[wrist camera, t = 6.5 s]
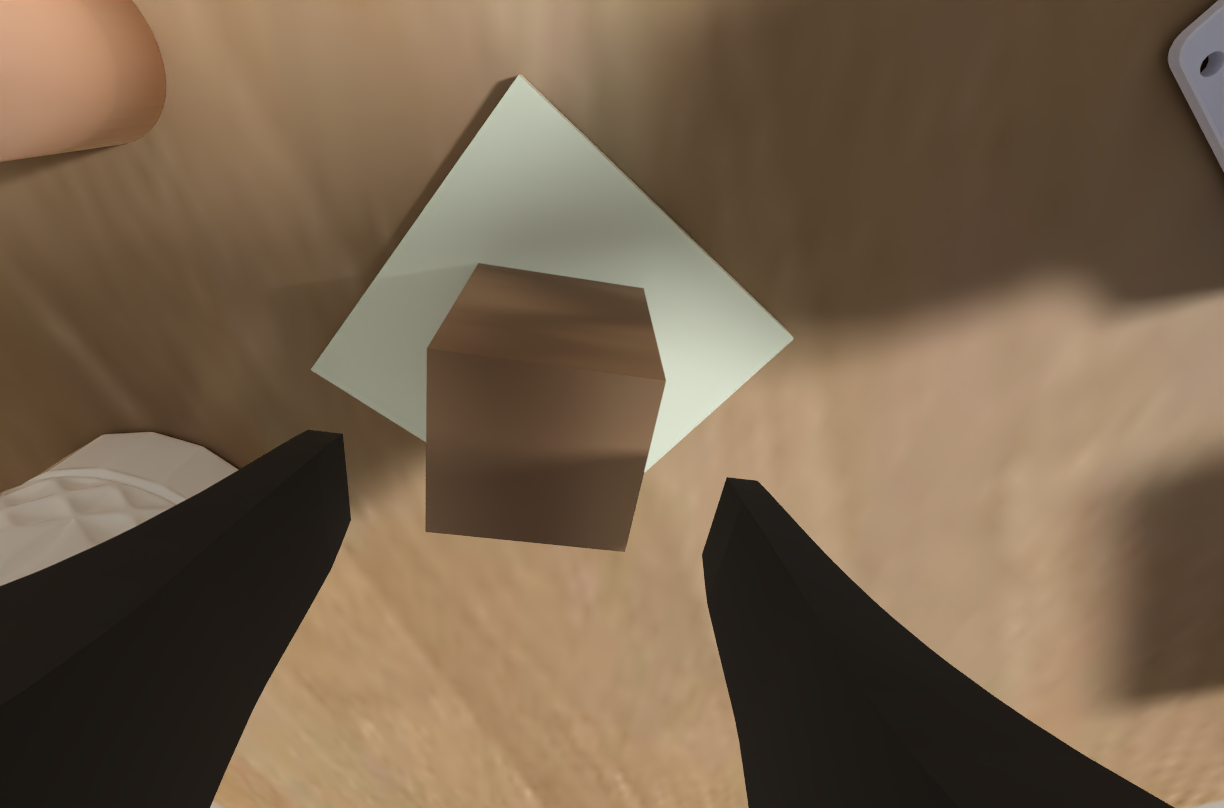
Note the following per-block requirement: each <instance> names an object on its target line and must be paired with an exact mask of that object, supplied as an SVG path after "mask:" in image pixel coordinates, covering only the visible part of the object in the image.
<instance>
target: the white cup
mask: <svg viewBox="0 0 1224 808" xmlns="http://www.w3.org/2000/svg"><path fill="white" fill-rule="evenodd" d="M236 471H238V469H237V468H235V467H234V466H232V465H231V464H229V463H228V462H226V461H225V460H223V459H222V458H220V457H218V456H217V455H215V454H214V453H212V452H211V451H209V450H208V449H206V448H205V447H203V446H200V445H196V444H193V443H190V442H186V441H183V440H179V439H176V438H172V437H169V436H165V435H162V434H158V433H155V432H138V433H119V434H104V435H101V436H100V437H98V438H96V439H94V440H93V441H91V442H89V443H88V444H86V445H84V446H83V447H81V448H79V449H78V450H76V451H74V452H73V453H71V454H69V455H68V456H66V457H65V458H63V459H61V460H60V461H58V462H57V463H55V464H54V465H52V466H51V467H49V468H48V469H46V470H45V471H43V472H42V473H40V474H39V475H37V476H36V477H34V478H32V479H30V480H28V481H26V482H25V483H23V484H22V485H20V486H17V487H14V488H11V489H8V490H5V491H3V492H1V493H0V586H2V585H4V584H7V583H9V582H12V581H15V580H17V579H20V578H22V577H25V576H27V575H30V574H32V573H35V572H37V571H40V570H42V569H44V568H47V567H49V566H51V565H54V564H56V563H58V562H60V561H63V560H65V559H67V558H69V557H72V556H74V555H76V554H78V553H81V552H83V551H85V550H87V549H90V548H92V547H94V546H96V545H98V544H100V543H103V542H105V541H107V540H109V539H111V538H113V537H115V536H117V535H119V534H121V533H123V532H125V531H127V530H130V529H132V528H134V527H136V526H138V525H139V524H141V523H143V522H145V521H147V520H149V519H151V518H153V517H154V516H156V515H158V514H160V513H162V512H164V511H166V510H168V509H170V508H171V507H173V506H175V505H177V504H179V503H181V502H183V501H185V500H186V499H188V498H190V497H192V496H194V495H196V494H198V493H200V492H201V491H203V490H205V489H207V488H208V487H210V486H212V485H214V484H215V483H217V482H219V481H221V480H222V479H224V478H226V477H227V476H229V475H231V474H233V473H234V472H236Z"/></svg>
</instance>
